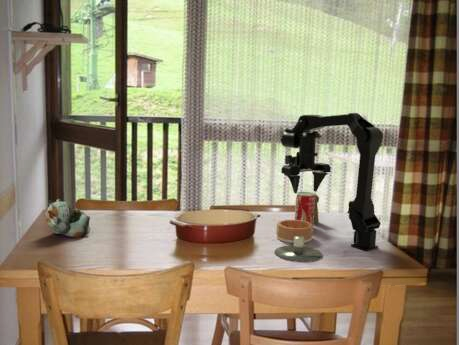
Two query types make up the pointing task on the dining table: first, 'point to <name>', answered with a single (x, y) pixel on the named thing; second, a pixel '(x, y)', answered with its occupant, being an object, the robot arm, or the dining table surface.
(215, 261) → the dining table surface
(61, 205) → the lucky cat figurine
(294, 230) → the bowl
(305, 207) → the soda can
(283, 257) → the lid
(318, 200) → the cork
